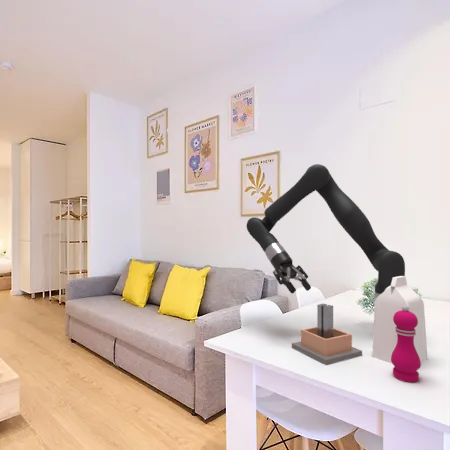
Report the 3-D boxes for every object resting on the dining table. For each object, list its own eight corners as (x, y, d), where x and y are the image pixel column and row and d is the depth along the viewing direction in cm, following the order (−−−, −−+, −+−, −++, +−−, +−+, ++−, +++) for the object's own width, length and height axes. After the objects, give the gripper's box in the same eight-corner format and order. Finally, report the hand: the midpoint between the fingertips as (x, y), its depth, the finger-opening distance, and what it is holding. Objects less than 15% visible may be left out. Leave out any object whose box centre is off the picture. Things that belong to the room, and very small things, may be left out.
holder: (325, 340, 118) (325, 322, 118) (362, 355, 104) (361, 335, 104) (291, 347, 110) (291, 328, 110) (326, 365, 96) (325, 343, 96)
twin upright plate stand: (322, 342, 111) (322, 302, 111) (336, 347, 106) (336, 305, 106) (314, 345, 108) (314, 304, 108) (328, 350, 103) (328, 307, 104)
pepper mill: (394, 369, 94) (393, 301, 94) (422, 376, 89) (422, 304, 89) (388, 377, 88) (388, 305, 88) (418, 386, 83) (418, 309, 84)
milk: (410, 369, 93) (409, 281, 94) (372, 356, 103) (372, 276, 103) (427, 359, 100) (427, 277, 101) (390, 348, 110) (390, 273, 110)
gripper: (270, 251, 118) (294, 286, 109) (295, 249, 126) (319, 282, 117) (260, 264, 122) (283, 299, 113) (285, 261, 131) (308, 294, 121)
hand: (301, 290), depth 115 cm, fingers open, 8 cm apart
